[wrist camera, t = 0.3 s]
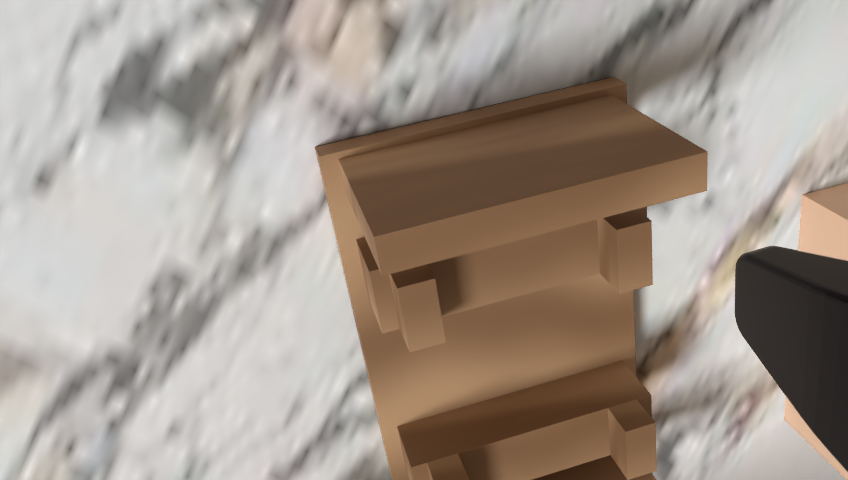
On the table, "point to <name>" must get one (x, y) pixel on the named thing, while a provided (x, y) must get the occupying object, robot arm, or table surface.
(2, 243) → the table surface
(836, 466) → the tan rectangular block
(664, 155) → the rack
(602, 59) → the table surface
